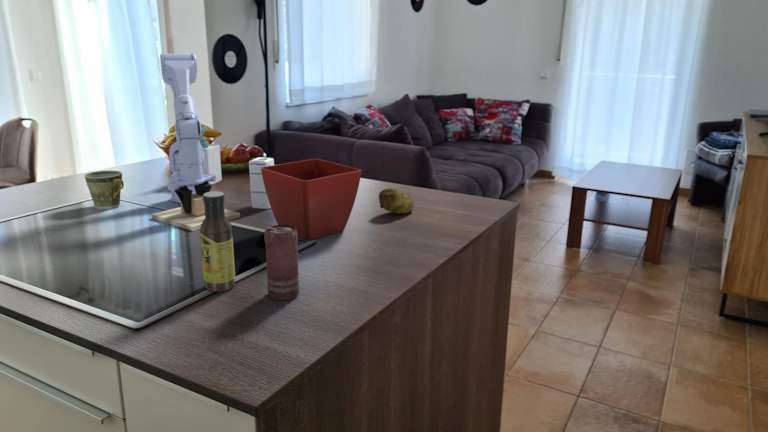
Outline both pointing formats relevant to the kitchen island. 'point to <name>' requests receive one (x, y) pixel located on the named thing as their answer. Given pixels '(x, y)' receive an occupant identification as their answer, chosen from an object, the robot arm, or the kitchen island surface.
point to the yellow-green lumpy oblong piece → (395, 201)
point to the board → (187, 218)
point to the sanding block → (195, 206)
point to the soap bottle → (211, 158)
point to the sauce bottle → (216, 245)
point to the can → (282, 262)
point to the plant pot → (311, 195)
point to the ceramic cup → (105, 188)
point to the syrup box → (259, 182)
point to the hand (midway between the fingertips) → (194, 210)
